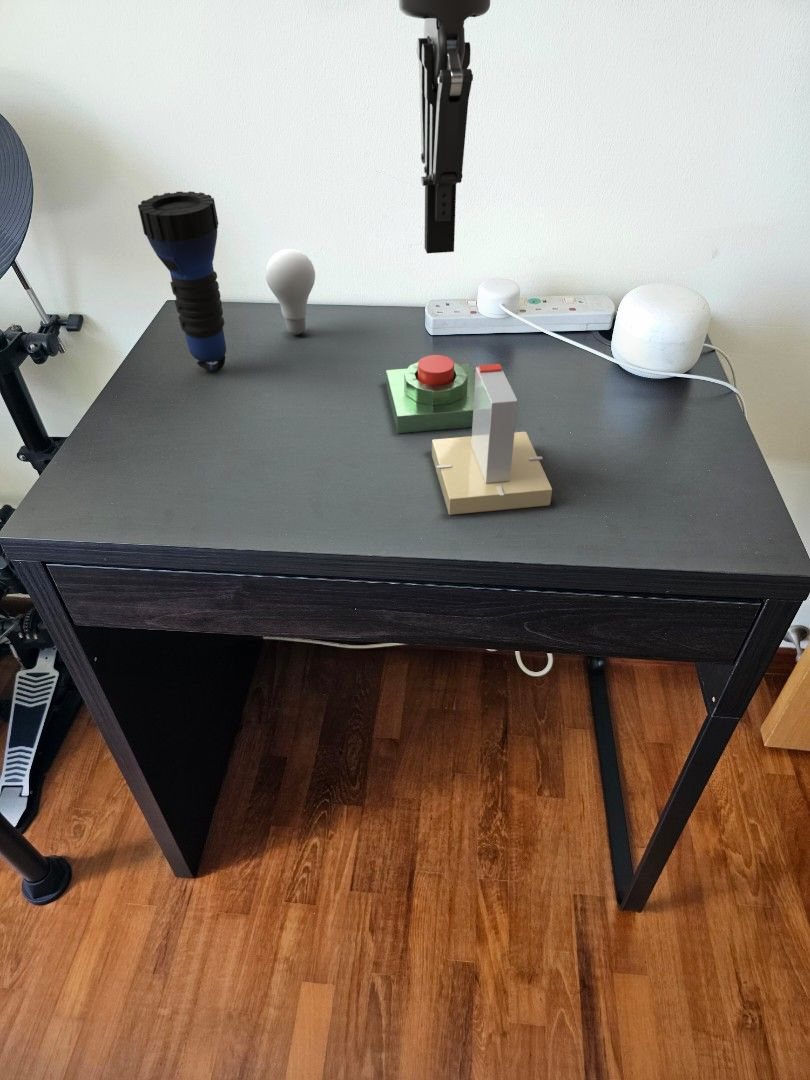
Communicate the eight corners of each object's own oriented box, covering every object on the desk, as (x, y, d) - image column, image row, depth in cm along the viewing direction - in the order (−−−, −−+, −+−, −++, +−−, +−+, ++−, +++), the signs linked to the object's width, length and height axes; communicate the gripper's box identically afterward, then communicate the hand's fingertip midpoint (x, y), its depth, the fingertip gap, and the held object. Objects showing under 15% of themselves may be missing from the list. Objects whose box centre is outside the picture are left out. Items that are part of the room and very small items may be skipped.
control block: (487, 426, 87) (489, 394, 84) (397, 433, 86) (397, 401, 83) (469, 379, 94) (470, 349, 92) (386, 386, 93) (385, 356, 91)
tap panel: (554, 507, 76) (557, 489, 75) (445, 517, 75) (446, 500, 74) (526, 444, 84) (528, 427, 83) (427, 453, 83) (428, 436, 82)
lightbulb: (266, 342, 102) (255, 258, 95) (282, 321, 106) (272, 239, 99) (311, 347, 101) (303, 262, 94) (325, 325, 105) (319, 243, 98)
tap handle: (509, 481, 76) (518, 398, 70) (485, 483, 76) (491, 400, 70) (493, 443, 81) (500, 362, 75) (470, 445, 81) (475, 364, 75)
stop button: (456, 385, 87) (457, 371, 85) (420, 388, 86) (420, 374, 85) (450, 367, 90) (450, 353, 88) (415, 370, 89) (415, 356, 88)
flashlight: (177, 357, 99) (140, 191, 86) (241, 352, 100) (214, 187, 87) (174, 390, 93) (134, 217, 80) (242, 384, 94) (213, 212, 81)
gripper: (388, -53, 67) (393, 228, 83) (410, -35, 57) (411, 279, 73) (474, -55, 68) (463, 224, 83) (511, -38, 58) (490, 273, 74)
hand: (439, 249), depth 78 cm, fingers closed
